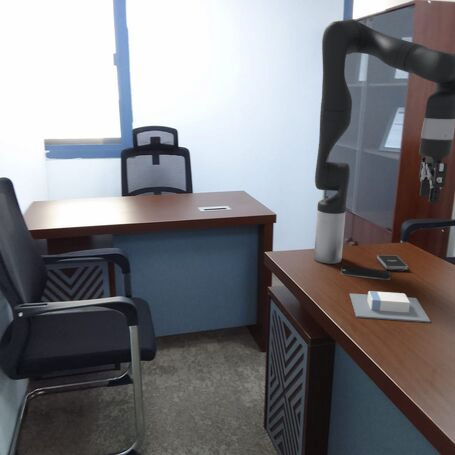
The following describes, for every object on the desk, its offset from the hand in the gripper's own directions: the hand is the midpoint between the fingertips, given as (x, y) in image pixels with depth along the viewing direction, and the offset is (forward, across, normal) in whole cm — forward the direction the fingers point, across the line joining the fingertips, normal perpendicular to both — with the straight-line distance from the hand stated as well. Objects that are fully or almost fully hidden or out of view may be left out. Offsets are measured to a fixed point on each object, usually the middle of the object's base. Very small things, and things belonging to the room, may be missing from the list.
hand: (428, 199), depth 123 cm
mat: (+28, -8, +9) cm, 31 cm away
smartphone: (+29, +17, +11) cm, 35 cm away
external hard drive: (+29, +26, +1) cm, 39 cm away
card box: (+28, -8, +9) cm, 30 cm away
